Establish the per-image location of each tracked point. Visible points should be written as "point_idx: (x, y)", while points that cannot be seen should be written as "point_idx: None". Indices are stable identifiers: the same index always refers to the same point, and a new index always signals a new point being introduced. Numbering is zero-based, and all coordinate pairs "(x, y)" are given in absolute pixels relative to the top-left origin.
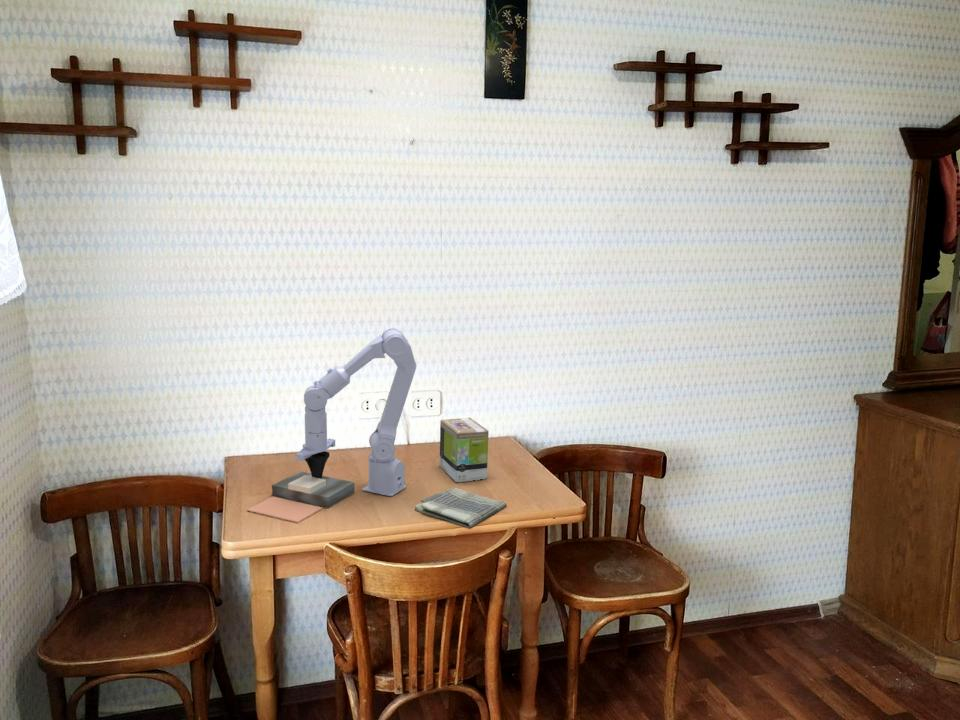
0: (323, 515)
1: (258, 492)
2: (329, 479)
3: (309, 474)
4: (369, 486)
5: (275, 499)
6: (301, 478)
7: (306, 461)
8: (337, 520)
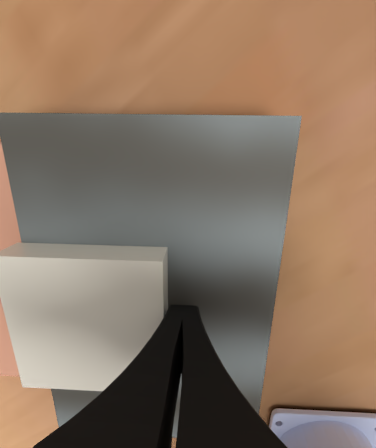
0: (32, 396)
1: (32, 10)
2: (240, 346)
3: (268, 212)
4: (291, 440)
5: (5, 181)
6: (106, 275)
7: (83, 414)
8: (32, 439)
